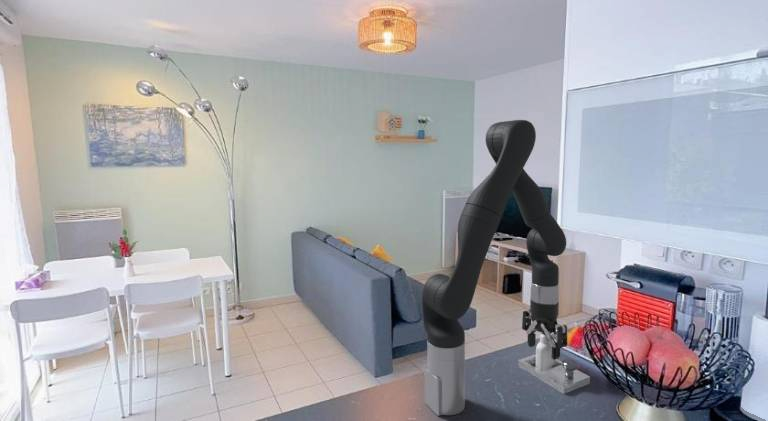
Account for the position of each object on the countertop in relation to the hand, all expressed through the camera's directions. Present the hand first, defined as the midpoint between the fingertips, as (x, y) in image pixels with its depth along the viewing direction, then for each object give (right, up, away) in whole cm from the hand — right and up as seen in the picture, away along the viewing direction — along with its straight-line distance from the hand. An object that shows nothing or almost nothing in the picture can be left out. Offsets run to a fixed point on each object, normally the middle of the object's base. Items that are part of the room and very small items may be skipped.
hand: (543, 352), depth 117 cm
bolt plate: (+2, -6, -2) cm, 6 cm away
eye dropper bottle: (0, -5, 0) cm, 5 cm away
